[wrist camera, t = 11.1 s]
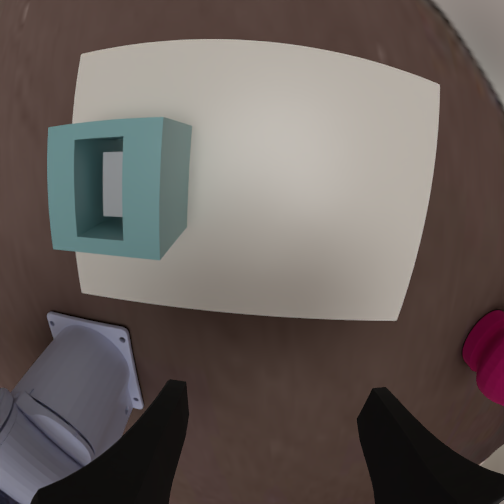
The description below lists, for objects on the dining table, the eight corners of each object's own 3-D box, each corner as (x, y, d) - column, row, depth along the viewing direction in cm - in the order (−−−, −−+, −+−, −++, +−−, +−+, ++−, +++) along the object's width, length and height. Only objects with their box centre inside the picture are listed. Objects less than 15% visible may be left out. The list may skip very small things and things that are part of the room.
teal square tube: (186, 227, 16) (159, 260, 11) (100, 221, 16) (53, 248, 11) (192, 125, 14) (163, 116, 9) (100, 128, 14) (48, 127, 9)
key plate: (390, 311, 19) (416, 349, 15) (89, 285, 19) (56, 317, 15) (430, 87, 14) (472, 77, 9) (90, 58, 13) (50, 41, 9)
